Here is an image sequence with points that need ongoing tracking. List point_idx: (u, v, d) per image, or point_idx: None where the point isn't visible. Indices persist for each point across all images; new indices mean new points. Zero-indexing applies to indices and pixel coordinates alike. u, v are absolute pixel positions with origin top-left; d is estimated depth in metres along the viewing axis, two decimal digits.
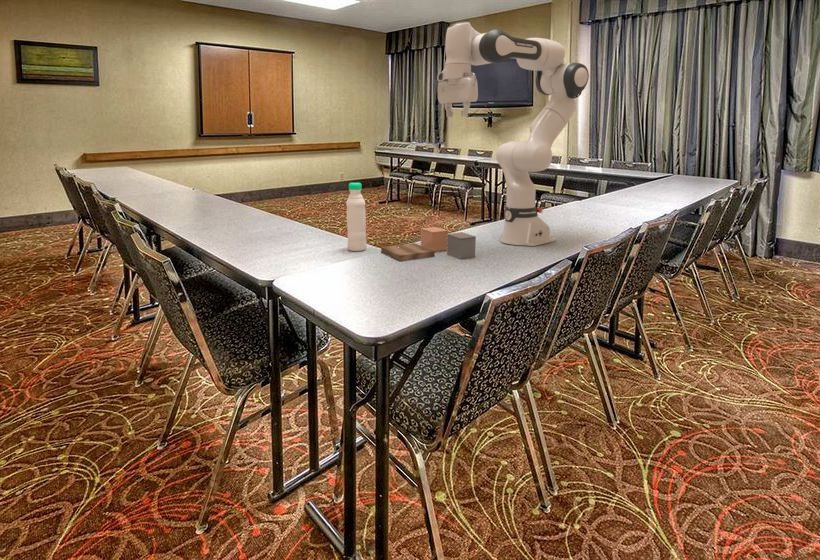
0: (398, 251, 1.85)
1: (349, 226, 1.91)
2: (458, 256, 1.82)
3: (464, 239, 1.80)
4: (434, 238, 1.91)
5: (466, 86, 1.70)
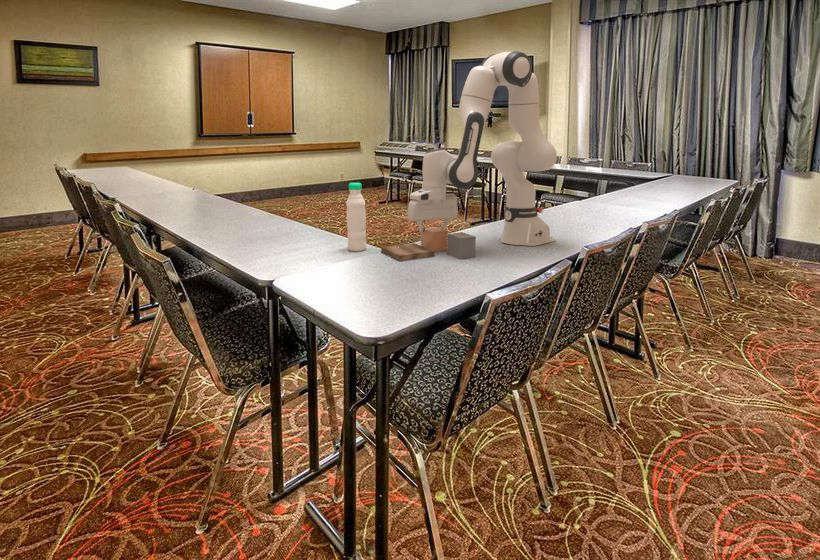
0: (398, 251, 1.85)
1: (349, 226, 1.91)
2: (458, 256, 1.82)
3: (464, 239, 1.80)
4: (434, 238, 1.91)
5: (454, 205, 1.94)
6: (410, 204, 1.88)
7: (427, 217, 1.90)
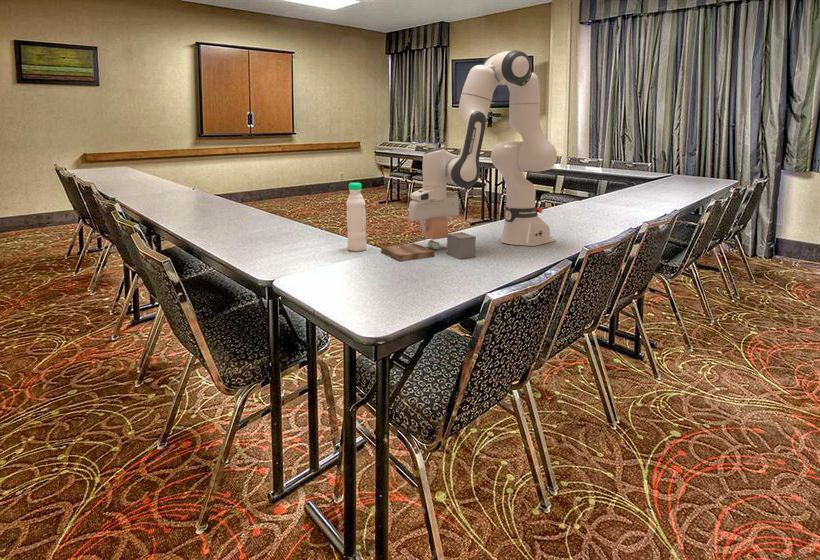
0: (398, 251, 1.85)
1: (349, 226, 1.91)
2: (458, 256, 1.82)
3: (464, 239, 1.80)
4: (434, 226, 1.91)
5: (455, 204, 1.95)
6: (411, 204, 1.89)
7: (428, 216, 1.91)
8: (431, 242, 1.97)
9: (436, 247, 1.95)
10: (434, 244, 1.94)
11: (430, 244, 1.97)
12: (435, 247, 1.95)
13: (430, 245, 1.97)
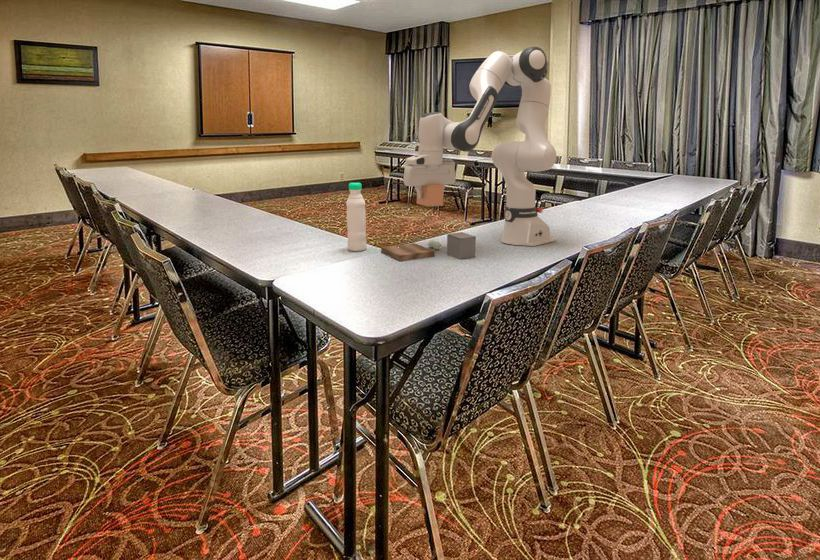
0: (398, 251, 1.85)
1: (349, 226, 1.91)
2: (458, 256, 1.82)
3: (464, 239, 1.80)
4: (430, 192, 1.85)
5: (451, 171, 1.90)
6: (406, 169, 1.84)
7: (423, 182, 1.86)
8: (432, 241, 1.98)
9: (437, 247, 1.95)
10: (436, 243, 1.95)
11: (431, 242, 1.97)
12: (436, 246, 1.95)
13: (431, 243, 1.97)
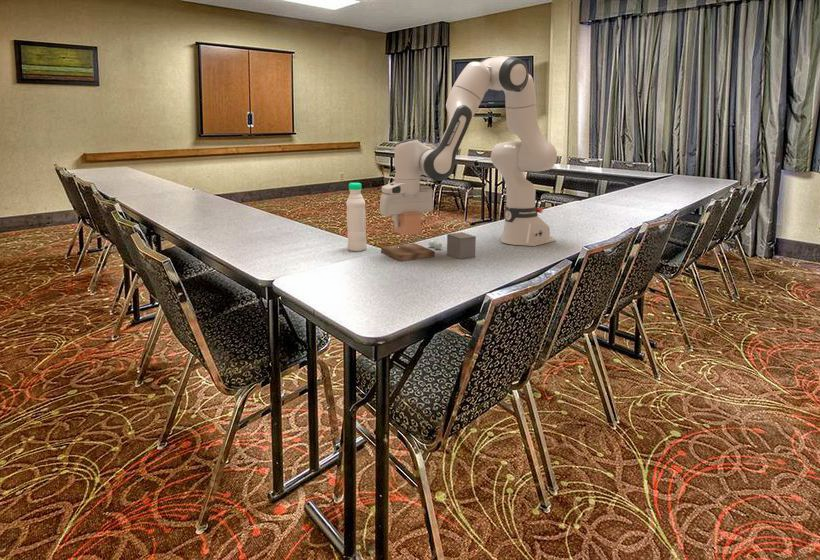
0: (398, 251, 1.85)
1: (349, 226, 1.91)
2: (458, 256, 1.82)
3: (464, 239, 1.80)
4: (406, 221, 1.80)
5: (429, 198, 1.85)
6: (382, 198, 1.79)
7: (400, 211, 1.81)
8: (433, 240, 1.99)
9: (438, 246, 1.95)
10: (437, 243, 1.95)
11: (431, 241, 1.98)
12: (437, 246, 1.95)
13: (431, 242, 1.98)
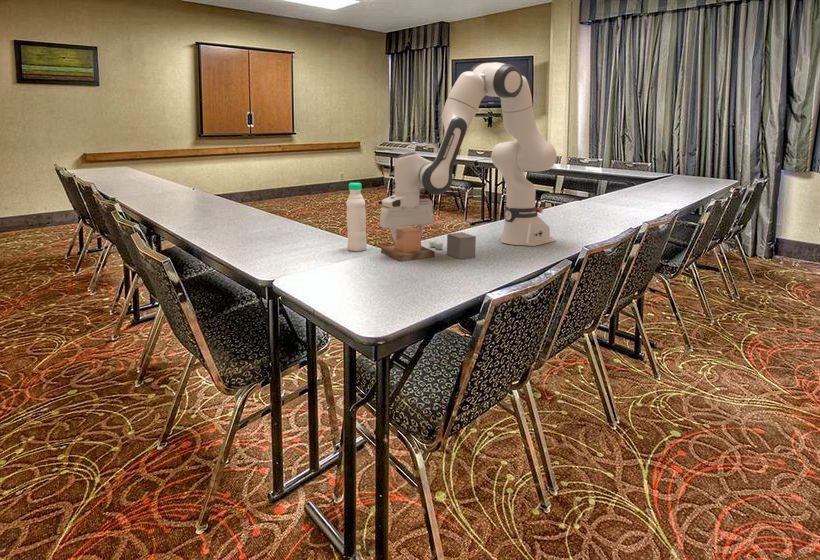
0: (398, 251, 1.85)
1: (349, 226, 1.91)
2: (458, 256, 1.82)
3: (464, 239, 1.80)
4: (406, 238, 1.82)
5: (429, 211, 1.86)
6: (382, 211, 1.80)
7: (400, 224, 1.82)
8: None
9: (439, 246, 1.95)
10: (439, 242, 1.95)
11: (432, 240, 1.99)
12: (438, 245, 1.95)
13: (432, 240, 1.99)
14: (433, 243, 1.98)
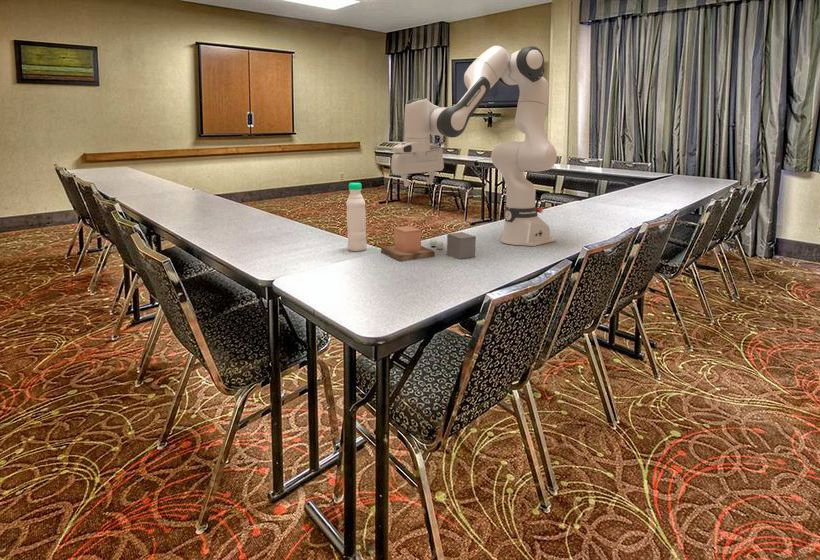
0: (398, 251, 1.85)
1: (349, 226, 1.91)
2: (458, 256, 1.82)
3: (464, 239, 1.80)
4: (406, 238, 1.82)
5: (439, 157, 1.88)
6: (393, 157, 1.82)
7: (411, 170, 1.84)
8: None
9: (440, 245, 1.95)
10: (441, 242, 1.95)
11: (433, 239, 2.00)
12: (439, 244, 1.95)
13: (433, 239, 1.99)
14: (433, 242, 1.99)
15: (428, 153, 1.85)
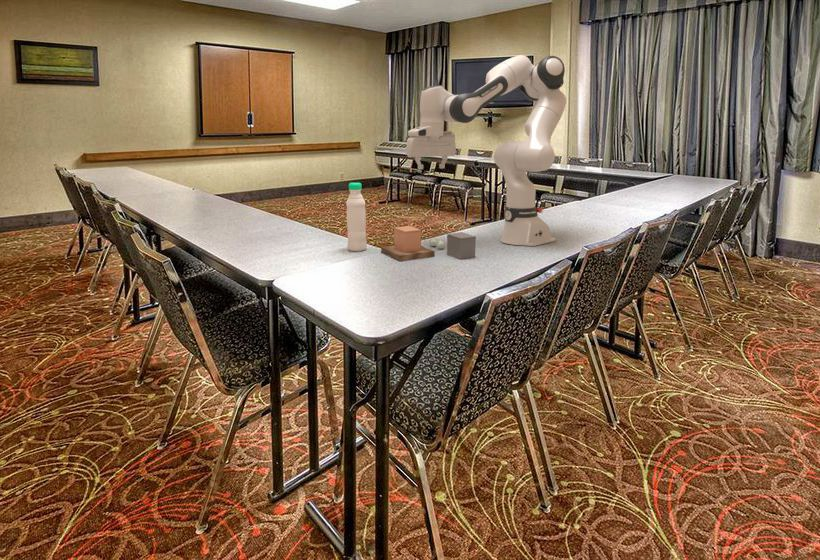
0: (398, 251, 1.85)
1: (349, 226, 1.91)
2: (458, 256, 1.82)
3: (464, 239, 1.80)
4: (406, 238, 1.82)
5: (452, 143, 1.98)
6: (408, 141, 1.92)
7: (425, 154, 1.93)
8: None
9: (440, 245, 1.95)
10: (442, 242, 1.96)
11: (434, 239, 2.00)
12: (440, 244, 1.95)
13: (433, 239, 2.00)
14: (434, 241, 1.99)
15: (441, 138, 1.95)
